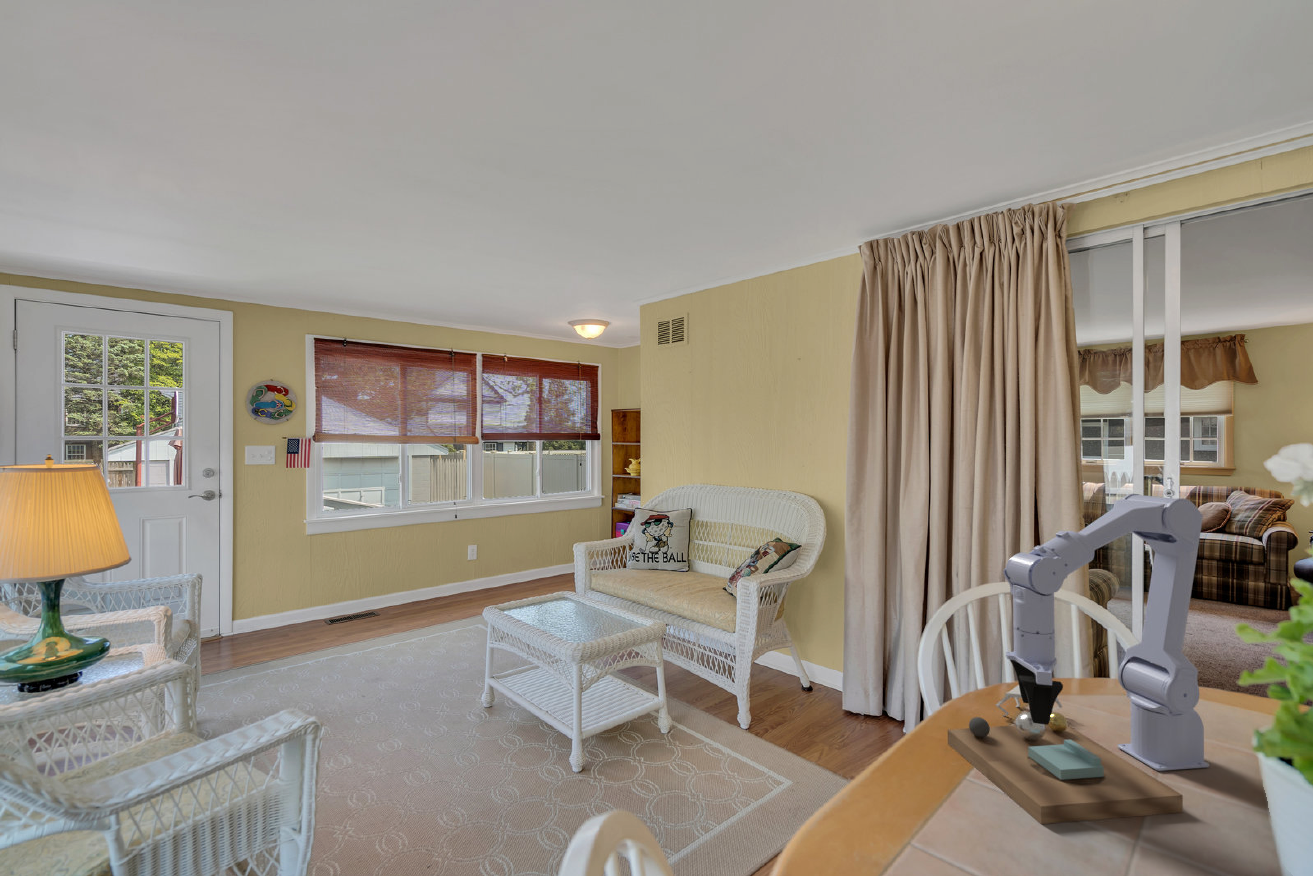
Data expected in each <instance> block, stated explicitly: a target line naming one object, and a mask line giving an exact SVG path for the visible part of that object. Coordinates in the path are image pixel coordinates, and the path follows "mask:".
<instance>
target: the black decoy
mask: <svg viewBox="0 0 1313 876" xmlns="http://www.w3.org/2000/svg"><path fill="white" fill-rule="evenodd" d="M968 727H969V729H970V731H971V732H972V733H973V734H974V735H975V736H977V737H985V736H987V735H988V734H989V731H990V727H991V726H990V723H988V721H986V719H984V718H983V717H980V716H976V717H973V718H971V719H970V721H969V722H968Z"/></svg>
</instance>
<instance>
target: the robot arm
mask: <svg viewBox="0 0 1313 876" xmlns="http://www.w3.org/2000/svg"><path fill="white" fill-rule="evenodd" d="M1203 517H1204V514H1202V513H1201V511H1200V510H1199V509H1198V507H1197V506H1196V505H1195V503H1193V502H1192V501H1191V500H1189V499H1187V498H1180V497H1177V498H1172V497H1163V496H1152V495H1141V494H1139V493H1129V494H1127V495H1125V496H1123V497H1122V498H1120V499H1117V500H1116V501H1114V503H1113V507H1112V509H1110V510H1109V511H1107V512H1106V513H1104V514H1102V516H1100V517H1099V518H1097V519H1096V520H1094V521H1093V522H1091V523H1090V524H1088V525H1087V526H1086V527H1084V528H1083V529H1081V530H1080V531H1078V532H1077V531H1073V530H1066V531H1065V530H1059V531H1058V532H1056V533H1055V537H1054V538H1052V539H1050V540H1048V541H1047V542H1044V543H1042V544H1041V545H1036V546H1034V547H1033V548H1032V550H1031V551H1030V552H1029V553H1028V552H1018V553H1015V554H1014V555H1013V556H1011V557H1010V558H1009V559H1008V561H1007V563H1006V567H1005V568H1004V569H1003V576H1004V578H1005V580H1006V581H1007V582H1008V585H1009V587H1010V594H1011V595H1012V613H1013V614H1012V618H1013V622H1012V623H1013V624H1012V625H1013V651H1005V658H1006V659H1007V660H1009V661H1010V663H1011V664H1012V667H1013V670H1014V672H1015V675H1016V679H1017V683H1018V685H1019V688H1020V693H1021V697H1022V698H1021V700H1022V703H1023V704H1028V707H1029V712H1030V714H1031V718H1032V721H1033V723H1037V724H1045V725H1048V724H1049V721H1050V718H1051V714H1052V712H1053V710H1052V709H1054V706H1055V703H1056V701H1055V700H1056V698H1058V696H1059V695H1060V694H1061V692H1062V691H1063V689H1064V685H1063V682H1061V681H1058V680H1053V672H1054V669H1055V668H1056V666H1057V664H1058V663H1057V662H1058V660H1057V658H1056V644H1055V643H1056V640H1055V637H1056V636H1055V635H1056V633H1055V593H1058V591H1060V590H1061V588H1062V586H1063V584H1064V581H1065V580H1066V579H1068V576H1069V575H1071V574H1072V573H1074V572H1075V571H1077V570H1079V569H1080V568H1083V567H1084V566H1085V565H1087V564H1089V563H1091V562H1092V561H1093V560H1094V558H1095V551H1096V550H1097V549H1100V548H1102V547H1104V546H1105V545H1108V544H1109V543H1112V542H1114V541H1115V540H1118V539H1120V538H1122V537H1124V536H1126V535H1128V534H1130V533H1133V535H1135V536H1137V537H1138V538H1140V539H1141V540H1143V541H1145V542H1146V544H1147V545H1148V546H1150V548H1151V549H1152V550H1153V552H1154V558H1153V562H1152V563H1153V564H1152V571H1151V576H1150V577H1151V578H1150V583H1149V588H1148V589H1149V591H1148V596H1147V597H1148V598H1147V603H1146V604H1147V605H1146V609H1145V615H1144V616H1145V617H1144V620H1143V621H1144V623H1143V629H1142V635H1141V641H1140V642H1139V643H1137V644H1134V645H1132V646H1130V647H1128V648H1126V649H1125V651H1126V652H1125V656H1124V659H1123V661H1122V662H1121V664H1120V665H1119V667H1118V671H1117V678H1118V682H1119V685H1120V686H1121V688H1122V689H1123V690H1125V691H1126V697H1127V698H1128V699H1129V700H1130V743H1119V744H1117V748H1118V749H1120V750H1122V751H1123V752H1125V753H1127V754H1129V755H1130V756H1132V757H1133V758H1135V759H1136V760H1138V761H1140V762H1142V763H1144V764H1145V765H1147V766H1148V767H1151V768H1152V769H1154V770H1156V771H1159V772H1162V771H1174V770H1176V771H1178V770H1187V769H1200V768H1209V767H1210V764H1209V763H1208V762H1206V761H1205V731H1204V730H1205V728H1204V727H1205V726H1204V723H1203V720H1202V718H1201V716H1200V714H1199V713H1198V712H1197V710H1195V709H1194V708H1195V707H1196V706H1197V705H1198V703H1199V700H1200V687H1199V683H1198V673H1199V669H1197V667H1196V666H1195V665H1194V664H1193V663H1192V662H1191V661H1190V659H1189V658H1188V657H1187V656H1186V655H1185V654H1184V652H1183V648H1184V641H1185V635H1186V630H1187V629H1186V628H1187V622H1188V616H1189V609H1190V603H1191V597H1192V590H1193V583H1194V578H1195V571H1196V564H1197V557H1198V552H1199V550H1198V549H1199V545H1200V538H1201V537H1200V536H1201V531H1202V526H1203V525H1202V524H1203V519H1204V518H1203Z"/></svg>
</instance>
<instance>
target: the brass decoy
mask: <svg viewBox="0 0 1313 876" xmlns="http://www.w3.org/2000/svg"><path fill="white" fill-rule="evenodd" d="M1068 723H1069V722H1068V720H1067V718H1066V717H1065V716H1064V715H1063V714H1061V713H1059V712H1056V711H1055V712H1053V711H1052V714H1051V718H1050V721H1049V724H1048V727H1049V728H1050V729H1051V730H1053V731H1055V732H1063V731H1065V730H1066V729H1067V726H1069V725H1068Z"/></svg>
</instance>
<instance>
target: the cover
mask: <svg viewBox="0 0 1313 876" xmlns="http://www.w3.org/2000/svg"><path fill="white" fill-rule="evenodd" d="M1028 756H1029V757H1030V758H1032V759H1033V760H1035V761H1036V762H1037V763H1039V764H1040V765H1041V766H1043V767H1044V768H1045V769H1047V770H1048V771H1050V772H1051V773H1052V774H1054V775H1055V776H1056V777H1058V778H1059V779H1061V780H1065V779H1078V778H1091V777H1104V767H1103V766H1102V765H1101V758H1099V757H1098V756H1096V755H1095V754H1093V753H1091V752H1090V751H1088V750H1087V749H1085V748H1083V747H1082V746H1080V745H1079V744H1077V743H1076V742H1074V741H1072V740H1071V739H1070V740H1064V744H1062V745H1047V746H1033V747H1028Z"/></svg>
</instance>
